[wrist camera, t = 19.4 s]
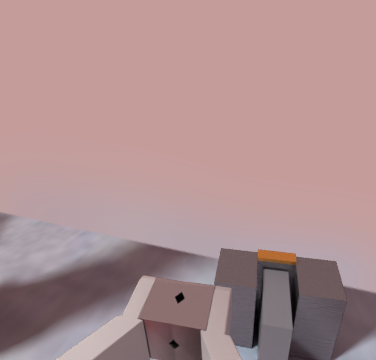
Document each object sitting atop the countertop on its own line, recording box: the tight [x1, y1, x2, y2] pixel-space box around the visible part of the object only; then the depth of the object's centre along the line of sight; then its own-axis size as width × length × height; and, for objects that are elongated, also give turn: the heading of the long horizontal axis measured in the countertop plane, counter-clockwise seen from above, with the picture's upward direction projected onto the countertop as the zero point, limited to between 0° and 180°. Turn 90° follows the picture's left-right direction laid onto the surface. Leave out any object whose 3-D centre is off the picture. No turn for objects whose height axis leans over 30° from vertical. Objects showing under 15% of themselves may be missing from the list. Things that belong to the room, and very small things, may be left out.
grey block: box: [258, 269, 293, 360], centre depth 36 cm, size 3×8×10 cm, turn 167°
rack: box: [214, 248, 347, 360], centre depth 38 cm, size 14×6×12 cm, turn 77°
